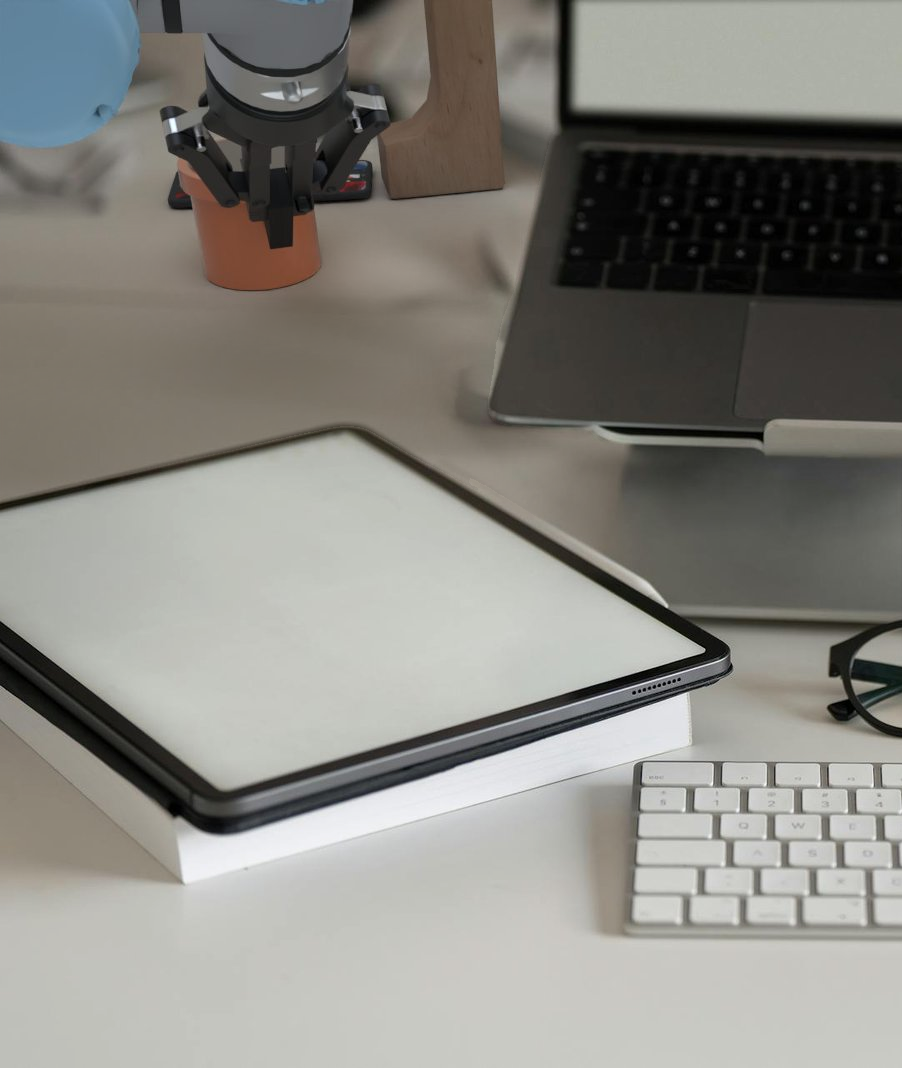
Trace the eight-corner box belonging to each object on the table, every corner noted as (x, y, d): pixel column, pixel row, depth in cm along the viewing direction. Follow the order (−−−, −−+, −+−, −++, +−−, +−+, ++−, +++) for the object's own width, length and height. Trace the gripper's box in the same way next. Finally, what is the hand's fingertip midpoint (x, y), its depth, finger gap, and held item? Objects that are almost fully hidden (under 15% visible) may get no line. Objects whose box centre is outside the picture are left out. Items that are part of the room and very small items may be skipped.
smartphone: (176, 167, 133) (372, 158, 136) (178, 175, 134) (373, 166, 136) (165, 202, 127) (370, 192, 130) (166, 210, 128) (371, 200, 130)
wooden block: (389, 201, 131) (363, -38, 121) (381, 180, 134) (355, -54, 124) (505, 189, 133) (489, -46, 123) (494, 169, 137) (478, -61, 127)
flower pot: (181, 293, 116) (160, 179, 111) (214, 241, 123) (195, 132, 119) (315, 294, 116) (299, 180, 112) (339, 242, 124) (325, 134, 119)
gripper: (164, 131, 89) (187, 295, 111) (413, 104, 93) (387, 267, 115) (136, 2, 90) (164, 190, 112) (383, -19, 94) (363, 165, 116)
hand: (277, 229), depth 114 cm, fingers closed
